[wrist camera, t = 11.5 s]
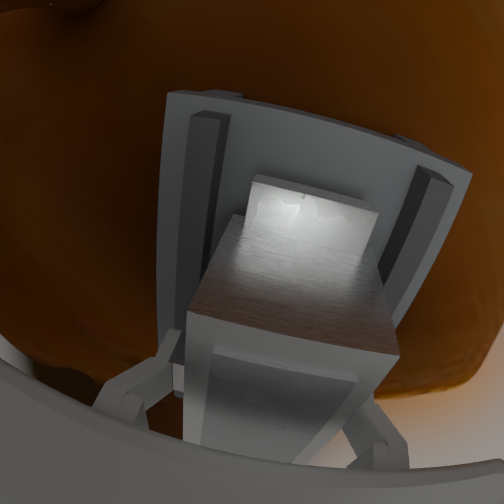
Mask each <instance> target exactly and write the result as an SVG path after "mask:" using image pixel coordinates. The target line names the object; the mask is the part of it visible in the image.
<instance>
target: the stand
mask: <svg viewBox="0 0 504 504" xmlns="http://www.w3.org/2000/svg"><path fill="white" fill-rule="evenodd" d="M243 95H244V94H242V93H236V92H230V91H223V90H216V89H214V90H208V91H203V92H197V91H188V90H178V91H172V92H168V94H167V102H166V110H165V119H164V129H163V139H162V151H161V163H160V178H159V195H158V217H157V261H156V283H157V327H158V349H159V348H160V345H161V343H162V341H163V339H164V337H165V335H166V333H167V331H168V329H169V328H170V327H172V328H175V329H178V330H181V331H185V332H186V321H187V310H188V308H189V306H190V304H191V301H192V299H193V297H194V295H195V293H196V291H197V289H198V286H199V284H200V282H201V280H202V278H203V276H204V274H205V272H206V269H207V267H208V265H209V263H210V261H211V259H212V257H213V255H214V253H215V251H216V249H217V247H218V245H219V242H220V240H221V238H222V236H223V234H224V232H225V230H226V228H227V226H228V224H229V222H230V220H231V218H232V216H233V214H236V215H241V216H245V217H246V212H247V207H248V202H249V196H250V191H251V186H252V181H253V179H254V177H255V175H256V174H260V175H265V176H269V177H273V178H278V179H282V180H286V181H290V182H295V183H299V184H303V185H307V186H311V187H315V188H319V189H322V190H326V191H330V192H334V193H338V194H341V195H345V196H348V197H352V198H356V199H359V200H363V201H366V202H370V203H373V204H374V205H375V207H376V209H377V211H378V213H379V214H378V217H377V220H376V222H375V225H374V227H373V230H372V232H371V235H370V238H369V240H368V243H367V245H366V246H367V247H371V248H372V251H373V254H374V257H375V260H376V263H377V267H378V270H379V274H380V277H381V280H382V284H383V287H384V291H385V295H386V298H387V302H388V306H389V310H390V314H391V317H392V321H393V325H394V330H395V329H396V328H397V326H398V324H399V323H400V321H401V320H402V318H403V316H404V315H405V313H406V311H407V310H408V308H409V306H410V304H411V303H412V301H413V299H414V298H415V296H416V294H417V292H418V291H419V289H420V287H421V285H422V283H423V282H424V280H425V278H426V276H427V274H428V272H429V270H430V268H431V267H432V265H433V263H434V261H435V259H436V257H437V255H438V253H439V251H440V249H441V247H442V245H443V243H444V240H445V238H446V236H447V234H448V232H449V230H450V228H451V225H452V223H453V221H454V219H455V216H456V214H457V212H458V210H459V207H460V205H461V202H462V200H463V198H464V195H465V193H466V190H467V188H468V185H469V183H470V180H471V177H472V175H473V174H472V173H471V172H469V171H468V170H467V169H465V168H464V167H463V166H461V165H460V164H458V163H457V162H454V161H452V160H450V159H447V158H445V157H443V156H440V155H438V154H436V153H435V152H433V151H432V150H430V149H429V148H427V147H426V146H424V145H423V144H422V143H420V142H417V141H415V140H412V139H409V138H407V137H404V136H401V135H398V134H396V133H395V136H394V138H393V137H390V136H387V135H384V134H381V133H378V132H375V131H372V130H369V129H366V128H363V127H360V126H356V125H353V124H350V123H346V122H343V121H339V120H336V119H332V118H329V117H325V116H321V115H317V114H313V113H309V112H305V111H301V110H297V109H293V108H288V107H284V106H279V105H274V104H270V103H265V102H260V101H254V100H249V99H243ZM174 391H175V396H177V397H180V398H183V399H184V392H181V391H177V390H174Z"/></svg>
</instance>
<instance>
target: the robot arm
mask: <svg viewBox="0 0 504 504" xmlns="http://www.w3.org/2000/svg"><path fill="white" fill-rule="evenodd" d="M185 340H186V332H185V331H181V330H178V329H175V328H172V327H170V328H169V329H168V331H167V333H166V335H165V337H164V339H163V341H162V343H161V345H160V348H159V350H158V352H157V354H156V356H155V358H154V357H150V358H148V359H146V360H144V361H143V362H141V363H139V364H137V365H136V366H134V367H132V368H130V369H128V370H127V371H125V372H123V373H121V374H119V375H118V376H116V377H114V378H112V379H110V380H109V381H107V382H105V384H104V386H103V388H102V389H101V391H100V393H99V395H98V397H97V399H96V401H95V403H94V404H93V407H90V406H87V405H85V404H83V403H81V402H79V401H77V400H75V399H73V398H70V397H68V396H66V395H64V394H62V393H60V392H58V391H56V390H54V389H53V388H51V387H49V386H47V385H45V384H43V383H41V382H39V381H38V380H36V379H34V378H32V377H31V376H28V375H27V374H25V373H24V372H22V371H20V370H19V369H17V368H15V367H14V366H12V365H10V364H9V363H7V362H6V361H4V360H3V359H1V358H0V504H504V460H502V459H492V460H486V461H481V462H474V463H468V464H460V465H452V466H442V467H431V468H416V469H410V467H409V456H408V446H407V443H406V441H405V440H404V438H403V437H402V436H401V434H400V433H399V432H398V430H397V429H396V428H395V426H394V425H393V424H392V422H391V421H390V420H389V418H388V417H387V416H386V414H385V413H384V412H383V410H382V409H381V408H380V407H379V405H378V404H375V402H374V393H372V394H371V395H370V396H369V397H368V399H367V400H366V401H365V402H364V403H363V405H362V406H361V407H360V408H359V409H358V410H357V412H356V413H355V414H354V415H353V416H352V417H351V418H350V420H349V421H348V422H347V423H346V424H345V425H344V426H343V427H342V430H343V432H344V433H345V435H346V437H347V439H348V441H349V442H350V445H351V446H352V448H353V450H354V452H355V454H356V456H357V459H355V460H354V461H353V462H352V463H351V464H349V465H348V466H347V469H345V468H331V467H330V468H329V467H319V466H309V465H300V464H292V463H285V462H278V461H272V460H266V459H260V458H254V457H249V456H244V455H239V454H234V453H230V452H225V451H221V450H217V449H213V448H209V447H205V446H201V445H197V444H193V443H190V442H186V441H183V440H179V439H175V438H173V437H169V436H166V435H163V434H160V433H157V432H154V431H151V430H148V423H147V418H146V413H145V411H146V410H147V409H148V408H150V407H151V406H153V405H154V404H155V403H157V402H158V401H159V400H161V399H162V398H163V397H164V396H166V395H167V394H168V393H170V392H171V391H172V389H174V390H177V391H181V392H184V364H185Z"/></svg>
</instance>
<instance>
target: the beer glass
mask: <svg viewBox="0 0 504 504" xmlns="http://www.w3.org/2000/svg"><path fill="white" fill-rule="evenodd" d="M102 1H103V0H0V13H4V12H8V11H12V10H17V9H23V8H42V9H46V10H49V11H52V12H55V13H58V14H61V15H65V16H75V15H80V14H83V13H85V12H87V11H89V10H91V9H93V8H94V7H96V6H97V5H98V4H99V3H101V2H102Z"/></svg>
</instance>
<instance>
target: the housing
mask: <svg viewBox="0 0 504 504" xmlns="http://www.w3.org/2000/svg"><path fill="white" fill-rule="evenodd" d="M378 214H379V213H378V211H377V209H376V207H375V205H374V204H373V203H370V202H366V201H363V200H359V199H356V198H352V197H348V196H345V195H341V194H338V193H334V192H330V191H326V190H322V189H319V188H315V187H311V186H307V185H303V184H299V183H295V182H290V181H286V180H282V179H278V178H273V177H269V176H265V175H260V174H256V175H255V177H254V179H253V181H252V186H251V191H250V196H249V202H248V207H247V212H246V217H245V216H241V215H236V214H233V216H232V218H231V220H230V222H229V224H228V226H227V228H226V230H225V232H224V234H223V236H222V238H221V240H220V242H219V245H218V247H217V249H216V251H215V253H214V255H213V257H212V259H211V261H210V263H209V265H208V267H207V269H206V272H205V274H204V276H203V278H202V280H201V282H200V284H199V286H198V289H197V291H196V293H195V295H194V297H193V299H192V301H191V304H190V306H189V308H188V310H187V321H186V340H185V364H184V401H183V441H186V442H190V443H193V444H197V445H201V446H205V447H209V448H213V449H217V450H221V451H225V452H230V453H234V454H239V455H244V456H249V457H254V458H260V459H266V460H272V461H278V462H285V463H292V464H300V465H306V464H307V463H308V462H309V461H310V460H311V459H312V458H313V457H314V456H315V455H316V454H317V453H318V452H319V451H320V450H321V449H322V448H323V447H324V446H325V445H326V444H327V443H328V442H329V441H330V440H331V439H332V438H333V437H334V436H335V435H336V434H337V433H338V431H340V429H341V428H342V427H343V426H344V425H345V424H346V423H347V422H348V421H349V420H350V418H351V417H352V416H353V415H354V414H355V413H356V412H357V410H358V409H359V408H360V407H361V406H362V405H363V403H364V402H365V401H366V400H367V399H368V397H369V396H370V395H371V394H372V393H373V391H374V390H375V389H376V388H377V386H378V385H379V384H380V383H381V381H382V380H383V379H384V378H385V376H386V375H387V374H388V372H389V371H390V370H391V368H392V367H393V366H394V364H395V363H396V362H397V360H398V359H399V358H400V351H399V347H398V342H397V338H396V334H395V330H394V325H393V321H392V317H391V314H390V310H389V306H388V302H387V298H386V295H385V291H384V287H383V284H382V280H381V277H380V274H379V270H378V267H377V263H376V260H375V257H374V254H373V251H372V248H371V247H367V246H366V245H367V243H368V240H369V238H370V235H371V232H372V230H373V227H374V225H375V222H376V220H377V217H378Z"/></svg>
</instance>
